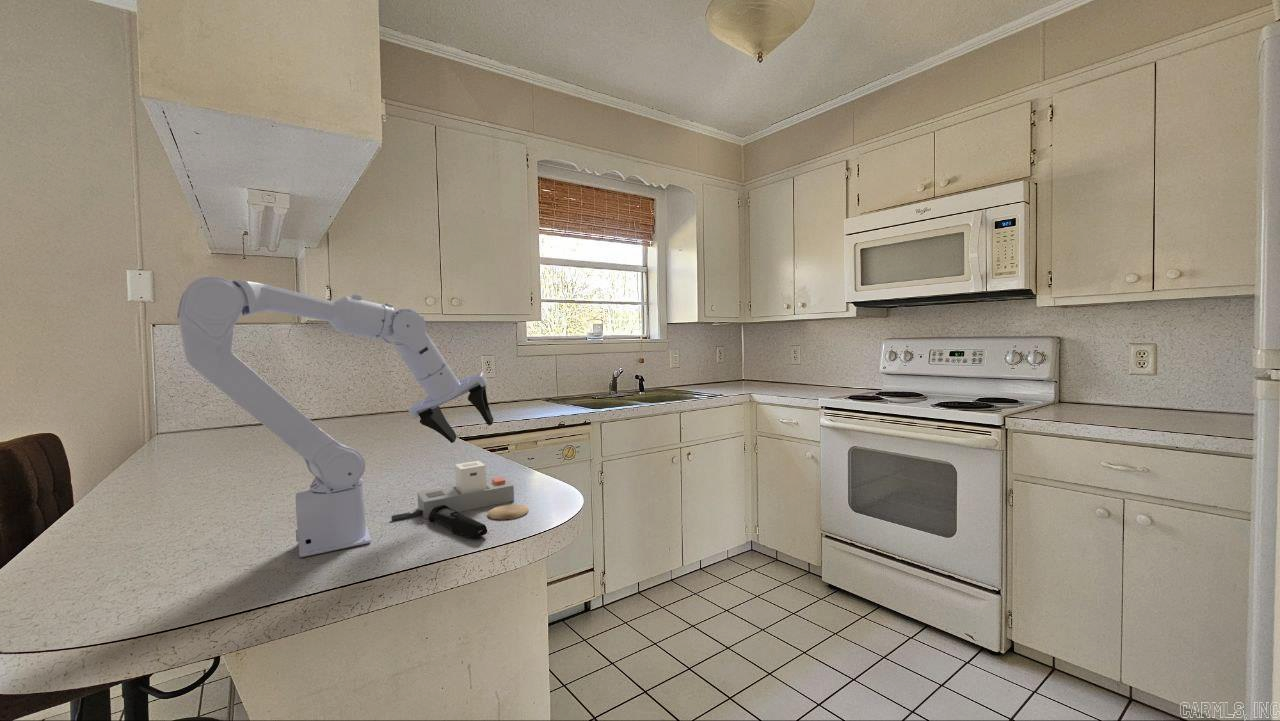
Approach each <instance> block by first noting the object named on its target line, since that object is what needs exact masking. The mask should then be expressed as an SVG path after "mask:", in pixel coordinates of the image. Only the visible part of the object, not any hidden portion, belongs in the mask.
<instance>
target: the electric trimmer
mask: <svg viewBox="0 0 1280 721" xmlns="http://www.w3.org/2000/svg"><path fill="white" fill-rule="evenodd" d="M427 520H428V523H429V522H430V524H432V523H431V522H433V523H436V524H439V525H442V526H445V527H447V528H449V529H450V532H451V533H453V534H456V535H460V536H464V537H468V538H472V539H476V538H479V537H481V536H484V535H486V534H488V528H487V526H486V524H484V523H481V522H479V521H477V520H475V519H473V518H471V517H469V516H467V515H465V514H464V513H462V512H457V511H455V510H453V509H451V508H449V507H448V506H446V505H441V506H437V507H435V508H433V509H432V511H431V513H430V514H429V517H428V518H427Z"/></svg>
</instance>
